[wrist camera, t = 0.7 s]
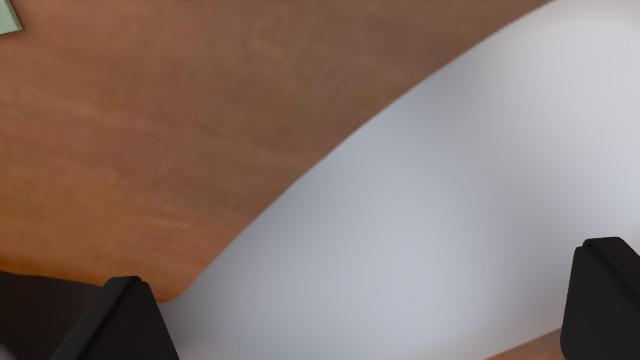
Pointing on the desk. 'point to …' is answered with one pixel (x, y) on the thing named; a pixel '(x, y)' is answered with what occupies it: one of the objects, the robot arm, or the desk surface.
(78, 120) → the desk surface
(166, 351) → the robot arm
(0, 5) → the desk mat
